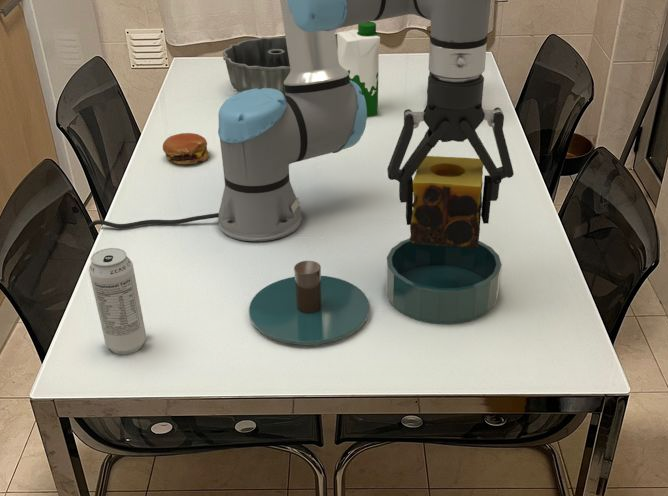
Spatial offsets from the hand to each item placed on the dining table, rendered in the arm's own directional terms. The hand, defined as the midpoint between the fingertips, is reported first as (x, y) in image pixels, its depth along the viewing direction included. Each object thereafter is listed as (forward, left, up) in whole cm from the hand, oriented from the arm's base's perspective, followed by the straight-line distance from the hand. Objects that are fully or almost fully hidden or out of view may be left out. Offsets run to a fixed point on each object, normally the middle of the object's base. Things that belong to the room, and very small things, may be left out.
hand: (446, 220), depth 126 cm
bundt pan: (-32, +96, -13) cm, 102 cm away
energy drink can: (-48, -13, -13) cm, 51 cm away
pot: (0, 0, -13) cm, 13 cm away
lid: (-21, -5, -12) cm, 25 cm away
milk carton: (-12, +80, -13) cm, 82 cm away
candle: (0, 0, -2) cm, 2 cm away
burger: (-49, +55, -13) cm, 75 cm away
